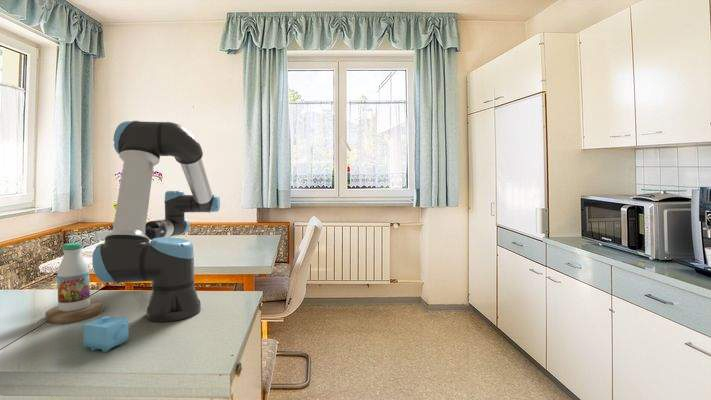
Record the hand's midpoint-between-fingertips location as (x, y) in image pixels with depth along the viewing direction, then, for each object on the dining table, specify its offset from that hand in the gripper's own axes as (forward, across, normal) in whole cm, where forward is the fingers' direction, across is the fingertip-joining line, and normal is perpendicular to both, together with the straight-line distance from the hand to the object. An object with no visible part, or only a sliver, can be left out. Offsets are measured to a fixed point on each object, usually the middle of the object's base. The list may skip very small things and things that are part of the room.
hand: (112, 236), depth 123 cm
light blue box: (+30, -29, -23) cm, 48 cm away
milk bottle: (+14, 0, -20) cm, 25 cm away
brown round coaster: (+14, -1, -22) cm, 27 cm away
